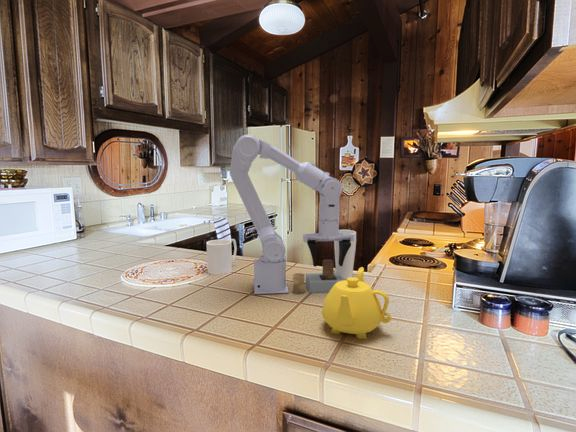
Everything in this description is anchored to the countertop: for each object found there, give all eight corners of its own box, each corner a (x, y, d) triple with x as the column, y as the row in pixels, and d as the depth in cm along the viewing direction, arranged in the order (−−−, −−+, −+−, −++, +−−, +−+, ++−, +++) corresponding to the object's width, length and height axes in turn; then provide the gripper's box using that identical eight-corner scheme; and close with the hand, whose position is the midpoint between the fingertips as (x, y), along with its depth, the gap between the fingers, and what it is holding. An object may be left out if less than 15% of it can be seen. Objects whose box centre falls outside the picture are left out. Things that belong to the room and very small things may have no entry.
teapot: (384, 360, 63) (387, 301, 62) (308, 344, 69) (309, 289, 67) (394, 316, 82) (397, 269, 80) (334, 306, 87) (335, 262, 86)
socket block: (309, 292, 96) (309, 282, 96) (305, 283, 104) (305, 273, 104) (344, 291, 97) (344, 281, 97) (337, 282, 105) (338, 272, 105)
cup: (244, 267, 120) (244, 239, 118) (218, 276, 110) (217, 246, 109) (228, 263, 125) (228, 236, 123) (202, 271, 115) (201, 242, 114)
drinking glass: (354, 281, 105) (356, 234, 103) (332, 280, 107) (333, 233, 104) (355, 274, 112) (356, 229, 110) (334, 273, 113) (335, 229, 111)
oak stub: (293, 294, 95) (293, 277, 95) (292, 290, 98) (292, 273, 98) (305, 293, 96) (305, 276, 95) (303, 289, 99) (303, 273, 98)
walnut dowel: (323, 289, 99) (323, 262, 98) (321, 285, 102) (322, 259, 101) (334, 289, 99) (334, 262, 98) (332, 285, 102) (332, 259, 101)
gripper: (305, 221, 93) (305, 270, 95) (357, 221, 94) (356, 269, 96) (302, 217, 100) (301, 262, 102) (350, 217, 101) (349, 261, 103)
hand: (327, 265), depth 100 cm, fingers open, 7 cm apart
